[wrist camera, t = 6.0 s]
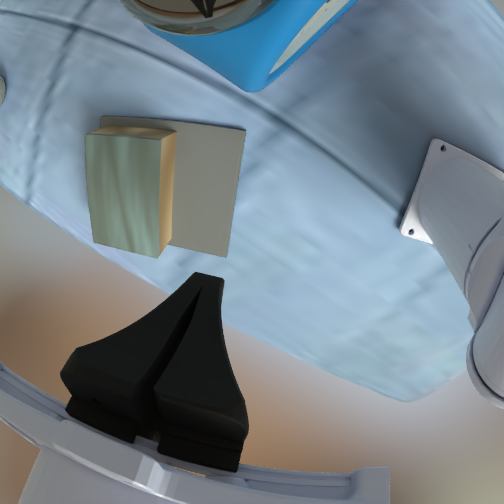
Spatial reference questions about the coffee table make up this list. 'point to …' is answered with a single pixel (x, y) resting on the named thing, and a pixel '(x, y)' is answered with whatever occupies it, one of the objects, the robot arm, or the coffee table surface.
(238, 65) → the alarm clock
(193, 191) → the rubber mat
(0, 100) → the beige rounded lump
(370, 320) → the coffee table surface
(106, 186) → the oak slab
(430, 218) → the robot arm
